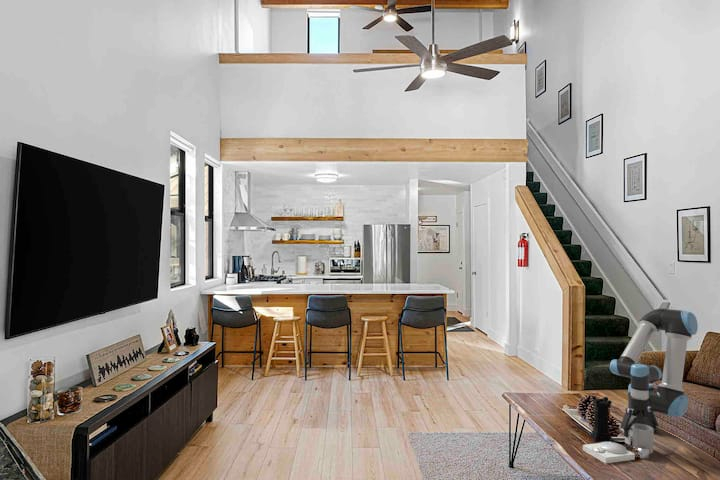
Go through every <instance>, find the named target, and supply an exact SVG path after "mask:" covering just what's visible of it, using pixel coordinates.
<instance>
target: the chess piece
mask: <svg viewBox="0 0 720 480" xmlns="http://www.w3.org/2000/svg"><path fill="white" fill-rule="evenodd" d="M591 399H592V404H594V407H593V410H594V427H592V430H591V433H590V434H589V435H590V437H591V438H592V439H593V441H594V442H596V443H601V442H613V443H614V441H613V440H612V436H611V433H610V431H609V415H610V411H609V408H611V405H612V403H613V401H612V400H609V397H608V396H603V398H597V397H596V395H591ZM610 439H611V440H610Z"/></svg>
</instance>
